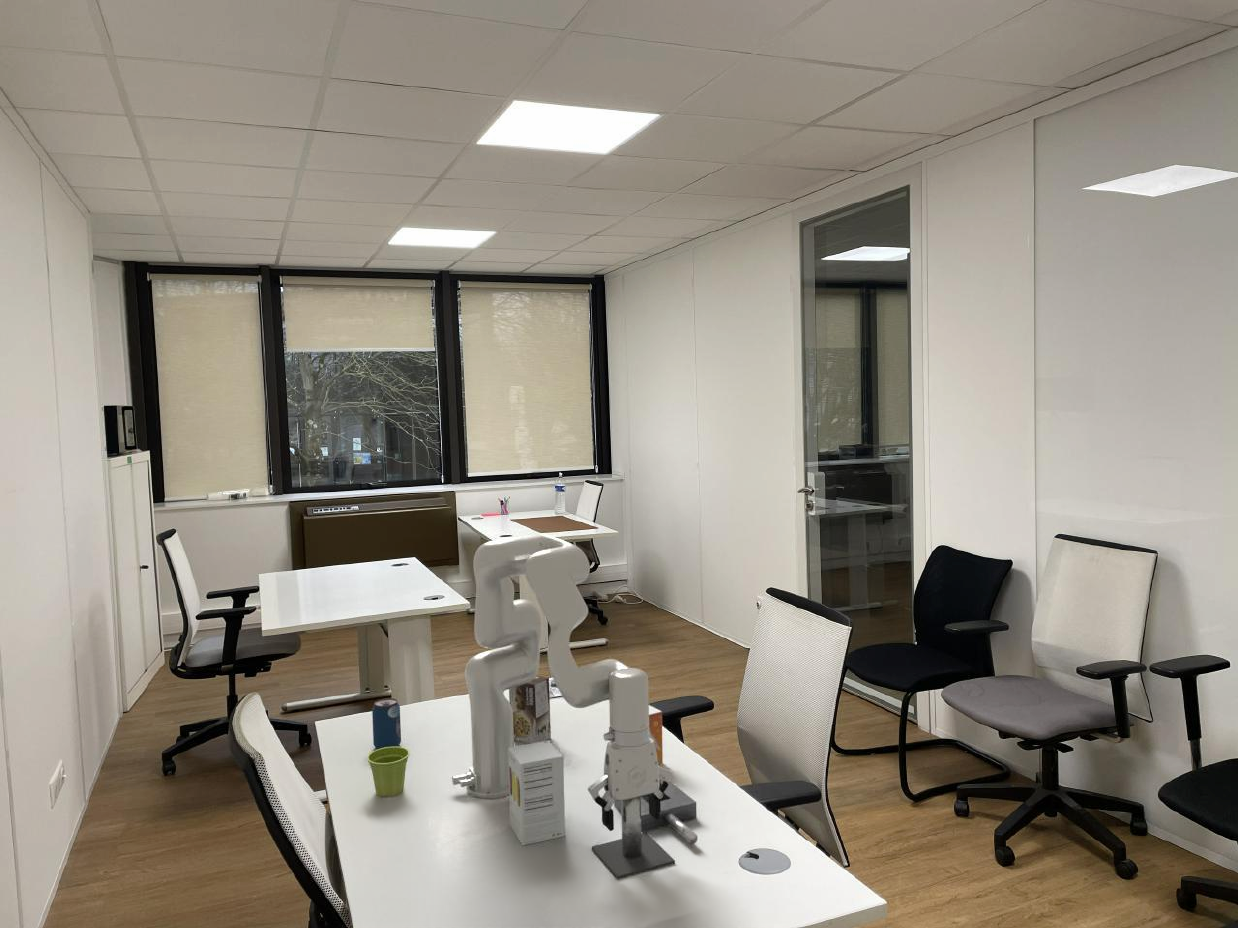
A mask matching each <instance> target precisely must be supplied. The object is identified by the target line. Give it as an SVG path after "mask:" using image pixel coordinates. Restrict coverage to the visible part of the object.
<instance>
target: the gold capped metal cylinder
mask: <svg viewBox="0 0 1238 928" xmlns="http://www.w3.org/2000/svg"><path fill="white" fill-rule="evenodd" d="M620 816H621V817H620V819H621V821H620V822H621V839H622V854H623V856H624V857H626V858H630V859H634V858H638V857H640V856H641V855H642V834H643V832H642V830H641V796H640V797H636V798H631V799H627V800H622V801H621V812H620Z"/></svg>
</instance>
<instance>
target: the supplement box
mask: <svg viewBox="0 0 1238 928" xmlns="http://www.w3.org/2000/svg"><path fill="white" fill-rule="evenodd" d="M508 758H509V793H510V795H509V823H510V824H509V825H510V827H511V828H512V830H513V832H514V834H515V835H516V837H517V839H518V840H519V842H520V843H521V846H527V845H531V844H536V843H540V841H541V842H544V841H549V840H553V839H557V838H563V837H565V836H566V822H565V821H566V819H565V817H566V816H565V814H566V813H565V776H564V775H565V770H564V768H565V767H564V756H563V754H562V753H561V752H560V751H559V750H558V749H557V748H556V747H555V746H554V744H553V743H552V742H551V740H546V741H543V742H537V743H531V744H530V743H526V744H521V745H514V747H510V748H508Z"/></svg>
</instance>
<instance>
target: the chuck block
mask: <svg viewBox="0 0 1238 928" xmlns="http://www.w3.org/2000/svg"><path fill="white" fill-rule="evenodd" d="M660 804H661V811H660V812H659V819H657V820H656V819H655V818H654V817H653V816H651V815H650V814H649V794H648V795H644V796H641V830H642V833H647V832H649V831H653V830H658V829H662V828H664V827H669V826H670V827H671V828H672V829H674V830H675V831H676V832H677V833H679V835H680V836H682V838H683V839H685V840H686V841H687V842H688V843H689V844H690V845H694V844H695V843H697V841H698V835H697V833H695V832H694V831H693V830H692V829H690V828H689V827H688V826H687V825H686V824H685V822H689V821H692V820H696V819H697V816H698V815H697V802H696V801H695V800H694V799H693V798H692V797H690V796H689V794H687V793H686V792H684V790H682V789H681V788H680V787H678V786H677V785H676V784H674V783H673V782H672V781H671V780H670V781H669V782H668V787H667V788H666V790H665V791H664V793H663V797H662V798H661V799H660ZM613 806H614V808H615V809H616V810H617V811H618V812H619V813H621V801H615V802H614V804H613Z"/></svg>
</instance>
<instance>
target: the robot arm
mask: <svg viewBox="0 0 1238 928" xmlns="http://www.w3.org/2000/svg"><path fill="white" fill-rule="evenodd" d="M472 565H473V575H474V580H475V587H476V589H475V590H476V591H475V602H474V603H475V604H474V605H475V606H474V607H475V608H474V621H473V622H474V624H473V626H474V627H473V629H474V630H473V632H474V633H473V635H474V638H475V641H476V643H477V644H478V645H479V646H480V647H482V648H484V649H490V650H486V651H482V652H480V653H477V654H475V655H474V656H472V657H471V658H470V659H469V660H468V661H467V663H466V664H465V668H464V676H465V677H464V678H465V683H466V687H467V691H468V697H469V706H470V707H469V708H470V724H471V725H470V726H471V749H472V750H471V751H472V755H471V756H472V766H469V769H468V770H469V771H467V772H465V773H464V774H458V775H453V776H452V777H451V781H452V786H455V785H456V786H457V785H460V787H461V788H466V791H467V793H468V794H470V795H471V796H473V797H475V798H480V799H488V800H489V799H490V800H491V799H498V798H500V799H501V798H505V797H507V796H510V793H509V758H508V748H510V747H514V746H515V740H514V729H513V710H512V706H511V704H510V702H509V699H507V698H506V696H505V694H504V692H505V691H507V690H508V691H509V689H510V688H513V687H516V686H520V685H523V684H526V683H528V682H530V681H532V680H533V679H534V678H535V676H537V674H538V671H539V667H540V655H541V641H542V618H541V614H540V612H539V609H538V607H537V605H536V604H534V603H533V602H532V601H530V600H529V599H524V598H521V599H515V598H514V597H515V588H514V587H515V586H514V582H513V581H512V579H511V578H513V577H517V576H525V578H526V580H527V582H528V585H529V586H530V588H531V591H532V593H533V595H534V596H535V599H536V601H537V603H538V605H539V607H540V608H541V611H542V612H543V615H544V617H545V618H546V620H547V622H548V625H549V627H550V633H549V637H548V641H547V649H546V650H547V665H548V669H549V673H550V675H551V677H552V679H553V681H554V683H555V684H556V687H557V689H558V691H559V693H560V695H561V696H562V698H563V699H564V701H565V702H566V703H567V704H568V705H570V706H571V707H573V708H577V709H584V708H587V707H590V706H594V705H597V704H600V703H602V702H605V701H608V702H609V727H608V732H605V733H603V739H604V741H605V742H606V741H608V742H607V743H606V748H605V749H606V750H605V755H604V764H603V776H601V777H600V778H599V779H597V780H596V781H595V782H594V783H592V784H591V785H590V786H589V787H588V788H587V790H588V793H589V794H590V796H591V797H592V800H593V801H594V802H595V803H596V804H597V805H598V806H599V807H600V808H601V823H602V824H603V826H604V827H606V828H607V829H608V831H609V832H613V831H614V829H615V827H614V826H615V824H614V822H615V820H614V816H615V814H614V809H613V808H612V807H613V806H614V802H615V801H622V800H627V799H631V798H636V797H640V796H644V795H648V794H649V814H650V815H651V816H653V817H654V818H655V819H656V820H657V819H659V812H660V811H661V804H660V799H661V798H662V797H663V793H664V791H665V790H666V788H667V787H668V782H669V781H671V778H672V777H673V776H672V775H673V772H672V771H671V770H670V769H668V768H665V767H663V766H659V764H658V759H657V753H656V748H655V744H654V740H653V739H651V738H650V735H649V705H650V699H649V698H650V697H649V693H650V692H649V677H648V674H647V673H646V671H644V670H643V669H641V668H640V669H639V668H634V667H630V666H628V665H627V664H625V663H623V662H622V661H620V660H618V659H615V658H607V659H603V660H599V661H596V662H592V663H589V664H586V665H583V666H578V665H577V663H576V661H575V659H574V656H573V654H572V651H571V648H570V637H571V634H572V631H573V630H574V629H576V628H577V627H578V626H579V625H580V624H582V622H584V620H586V618H587V616H588V614H589V607H588V605H587V604H586V602H585V600H584V597H583V596H582V594H581V592H580V590H579V589H578V587H577V585H579V584H582V583H583V582H586V580H587V579H588V577H589V575H590V571H591V569H590V568H591V567H590V562H589V559H588V557H587V555H586V554H585V551H583V550H582V549H581V548H579V547H578V546H577V545H575V544H573V543H570V542H568V541H566V540H563V539H560V538H557V537H554V536H552V535H549V534H546V533H533V534H526V535H521V536H512V537H506V538H505V537H504V538H500V539H498V538H497V539H494V540H490V541H487V542H484V543H482V544H481V545H480V546H479V547H478V548H477V549H476V551H475V553H474V556H473V564H472ZM510 577H511V578H510ZM660 776H661V778H660ZM603 788H604V789H603ZM602 789H603V790H604V791H605V792H604V793H603V795H602V796H601V795H600V794H599V792H600V791H601V790H602Z"/></svg>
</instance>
